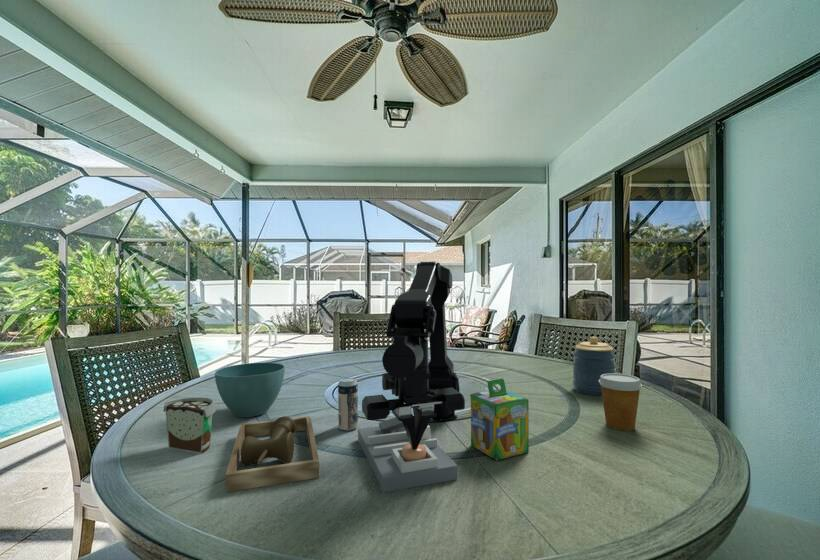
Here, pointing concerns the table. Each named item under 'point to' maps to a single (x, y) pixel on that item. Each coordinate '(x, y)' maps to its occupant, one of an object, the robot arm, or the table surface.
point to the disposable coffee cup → (620, 400)
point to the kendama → (271, 444)
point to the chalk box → (499, 422)
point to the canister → (592, 365)
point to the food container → (189, 423)
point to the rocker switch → (390, 425)
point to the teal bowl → (250, 387)
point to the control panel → (392, 467)
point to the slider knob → (426, 433)
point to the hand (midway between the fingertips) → (414, 448)
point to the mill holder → (276, 472)
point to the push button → (413, 453)
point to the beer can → (348, 404)
